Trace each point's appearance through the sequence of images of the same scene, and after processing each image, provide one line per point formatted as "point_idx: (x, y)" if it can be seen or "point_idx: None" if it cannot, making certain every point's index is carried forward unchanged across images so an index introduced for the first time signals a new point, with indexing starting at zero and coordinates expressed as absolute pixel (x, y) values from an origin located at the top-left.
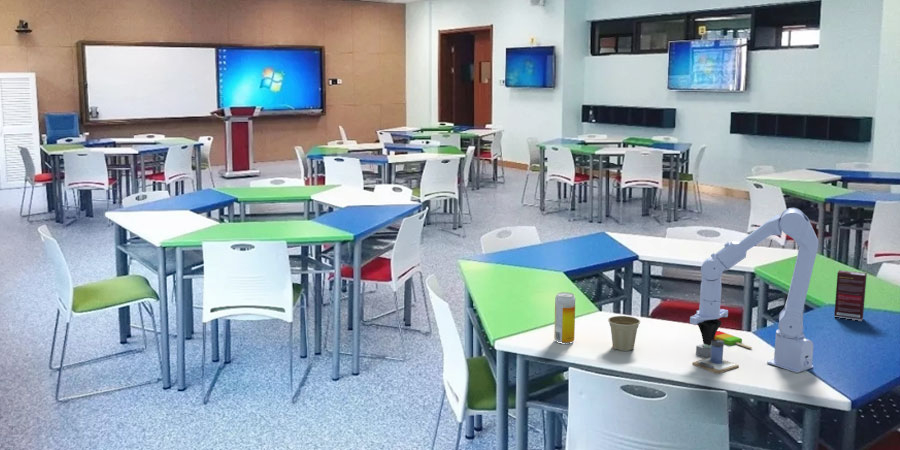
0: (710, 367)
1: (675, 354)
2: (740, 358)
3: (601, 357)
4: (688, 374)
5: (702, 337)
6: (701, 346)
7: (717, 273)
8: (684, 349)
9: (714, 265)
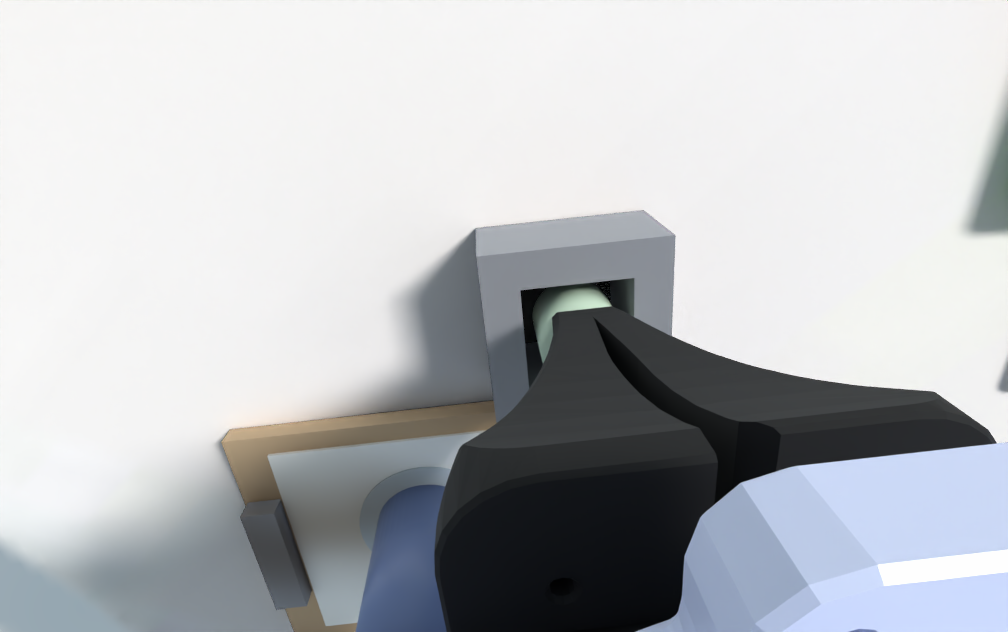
0: (275, 598)
1: (231, 132)
2: None
3: None
4: (60, 562)
5: (552, 343)
6: (515, 303)
7: None
8: (460, 40)
9: None
